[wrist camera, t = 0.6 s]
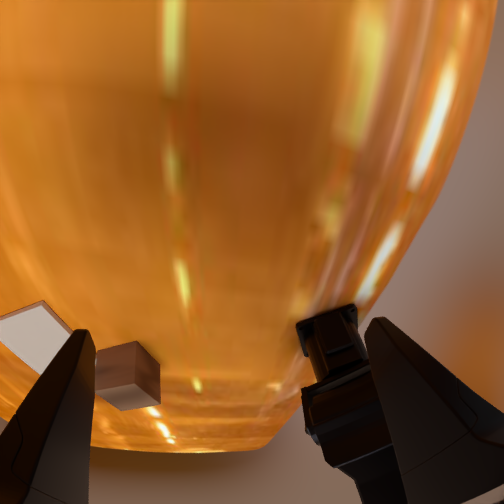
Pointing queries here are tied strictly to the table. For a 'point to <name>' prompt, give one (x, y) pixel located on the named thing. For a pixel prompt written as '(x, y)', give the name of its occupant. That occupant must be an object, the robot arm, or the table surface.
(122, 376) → the walnut cube
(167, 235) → the table surface
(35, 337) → the stone coaster
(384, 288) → the table surface
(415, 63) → the table surface
